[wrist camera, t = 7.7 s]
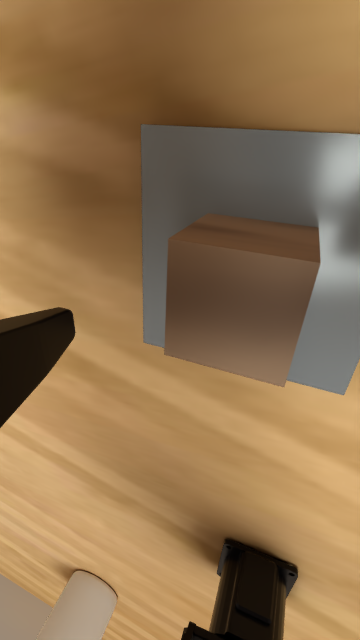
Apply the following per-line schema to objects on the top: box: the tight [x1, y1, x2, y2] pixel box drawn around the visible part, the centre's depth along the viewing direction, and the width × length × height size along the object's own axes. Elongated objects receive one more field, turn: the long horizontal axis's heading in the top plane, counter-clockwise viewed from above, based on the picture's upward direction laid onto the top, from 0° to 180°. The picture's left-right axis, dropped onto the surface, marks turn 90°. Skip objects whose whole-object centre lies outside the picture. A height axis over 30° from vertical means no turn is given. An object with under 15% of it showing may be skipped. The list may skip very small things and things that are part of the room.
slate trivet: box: [141, 124, 360, 395], centre depth 16 cm, size 12×12×1 cm
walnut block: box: [164, 213, 321, 387], centre depth 13 cm, size 5×5×5 cm
